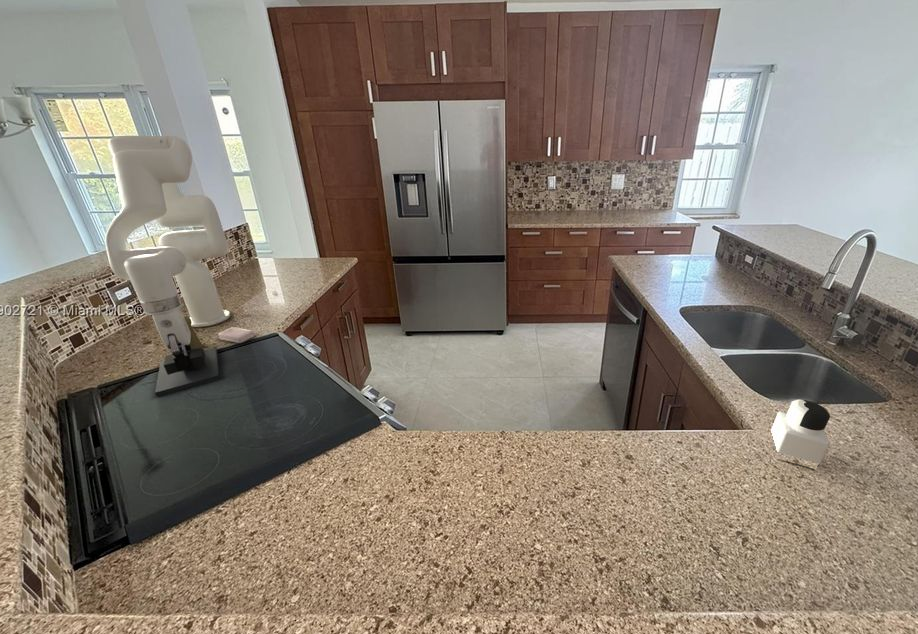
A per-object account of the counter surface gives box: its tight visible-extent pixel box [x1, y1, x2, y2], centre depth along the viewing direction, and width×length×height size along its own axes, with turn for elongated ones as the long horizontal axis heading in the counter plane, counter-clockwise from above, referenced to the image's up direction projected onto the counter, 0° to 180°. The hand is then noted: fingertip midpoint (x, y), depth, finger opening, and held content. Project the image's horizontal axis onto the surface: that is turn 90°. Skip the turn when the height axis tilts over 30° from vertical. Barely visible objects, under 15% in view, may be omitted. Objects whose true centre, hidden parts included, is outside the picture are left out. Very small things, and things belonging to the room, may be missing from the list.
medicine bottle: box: [770, 399, 831, 465], centre depth 74 cm, size 7×7×12 cm
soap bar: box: [217, 326, 255, 344], centre depth 119 cm, size 5×9×2 cm, turn 73°
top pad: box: [163, 347, 205, 375], centre depth 101 cm, size 6×8×3 cm
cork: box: [183, 314, 204, 349], centre depth 111 cm, size 6×6×11 cm
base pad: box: [154, 347, 221, 397], centre depth 102 cm, size 18×13×3 cm
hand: (186, 363), depth 101 cm, fingers closed on top pad, 6 cm apart
